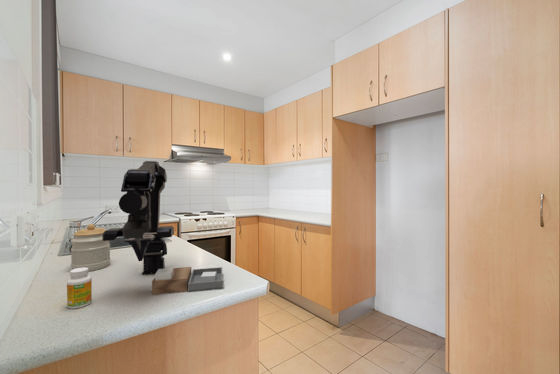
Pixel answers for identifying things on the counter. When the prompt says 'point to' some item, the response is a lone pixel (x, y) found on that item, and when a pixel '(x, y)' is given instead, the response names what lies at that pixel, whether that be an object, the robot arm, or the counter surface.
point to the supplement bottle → (79, 288)
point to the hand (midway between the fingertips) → (140, 260)
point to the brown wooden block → (173, 282)
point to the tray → (197, 285)
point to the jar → (90, 249)
